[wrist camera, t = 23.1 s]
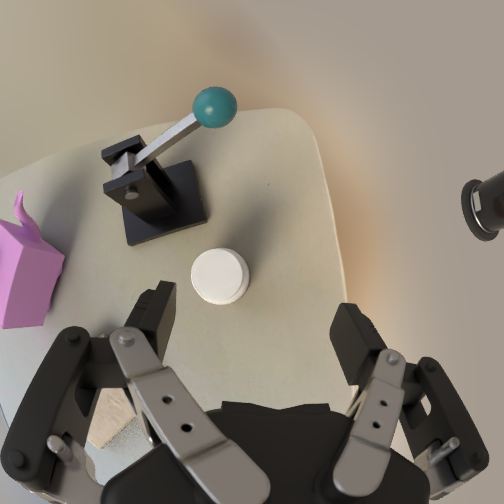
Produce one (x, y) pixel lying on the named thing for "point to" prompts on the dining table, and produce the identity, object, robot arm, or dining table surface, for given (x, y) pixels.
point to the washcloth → (109, 415)
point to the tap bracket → (154, 195)
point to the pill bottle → (220, 276)
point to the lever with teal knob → (183, 128)
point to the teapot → (25, 271)
